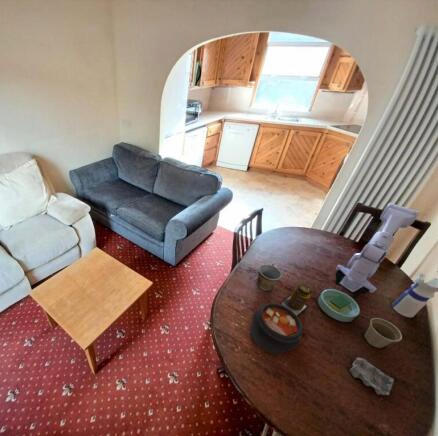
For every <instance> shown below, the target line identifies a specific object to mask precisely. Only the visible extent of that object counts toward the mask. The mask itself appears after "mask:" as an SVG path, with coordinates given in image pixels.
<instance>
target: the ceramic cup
mask: <svg viewBox="0 0 438 436" xmlns="http://www.w3.org/2000/svg"><path fill="white" fill-rule="evenodd" d="M282 274H283V273H282V272H281V270H280V269H279V268H278V267H276V266H275V263H272V264H266V263H264V264H261V265H260V266H259V267H258V273H257V283H256V285H257V286H258V287H259V289H261V290H263V291H271V290H272V289H273V288H274V286H275V285H276V284H277V283H278V282H279V281H280V280H281V278H282V276H283V275H282Z"/></svg>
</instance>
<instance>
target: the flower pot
mask: <svg viewBox="0 0 438 436" xmlns="http://www.w3.org/2000/svg"><path fill="white" fill-rule="evenodd" d="M363 336H364V339H365V341H366V342H367V343H368V344H369V345H370V346H373V347H375V348H379V349H382V348H384V347H386V346H388V345H390V344H392V343H397V342H401V340H402V339H403V335H402V333H401V331H400V329H399V328H398V327H397V326H395V325H394V324H393V323H391V322H390V321H388V320H386V319H383V318H381V317H373V318H371V319H370V321H369V326H368V328H367V330H366V331H365V333H364V335H363Z"/></svg>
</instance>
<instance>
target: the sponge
mask: <svg viewBox="0 0 438 436" xmlns="http://www.w3.org/2000/svg"><path fill="white" fill-rule="evenodd" d="M350 303H351V302H349V301H348V300H347V299H345V298H344V297H343V296H341V295H339V296H337V297H336V298H334V299H332V300H330V302H329V303H328V306H329V307H330V308H332V309H333V310H335V311H336V312H338V313H339V312H341V311H343V310H344V309H346V308H347V307H348V305H349V304H350Z"/></svg>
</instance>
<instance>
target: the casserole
mask: <svg viewBox="0 0 438 436" xmlns="http://www.w3.org/2000/svg"><path fill="white" fill-rule="evenodd" d="M303 329H304V328H303V326H302V322H301V320H300V318H299V316H298V315H296V314H295V313H294V312H293V311H291V310H290V309H289V308H287V307H285V306H284V305H282V304H280V303H275V302H271V303H266V304H264V305H261V306H260V307H259V309H257V311H255V312H254V314H253V315H252V320H251V327H250V331H249V334H250V337H251V339H252V340H253V342H254V343H255V344H256V345H257V346H258V347H259V348H261V349H262V350H263V351H265V352H266V353H268V354H271V355H274V356H277V355H280V354H282V353H284V352H288V351H293V350H296V349H297V348H298V347H299V346H300V344H301V341H302V336H303V333H304V330H303Z"/></svg>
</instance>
